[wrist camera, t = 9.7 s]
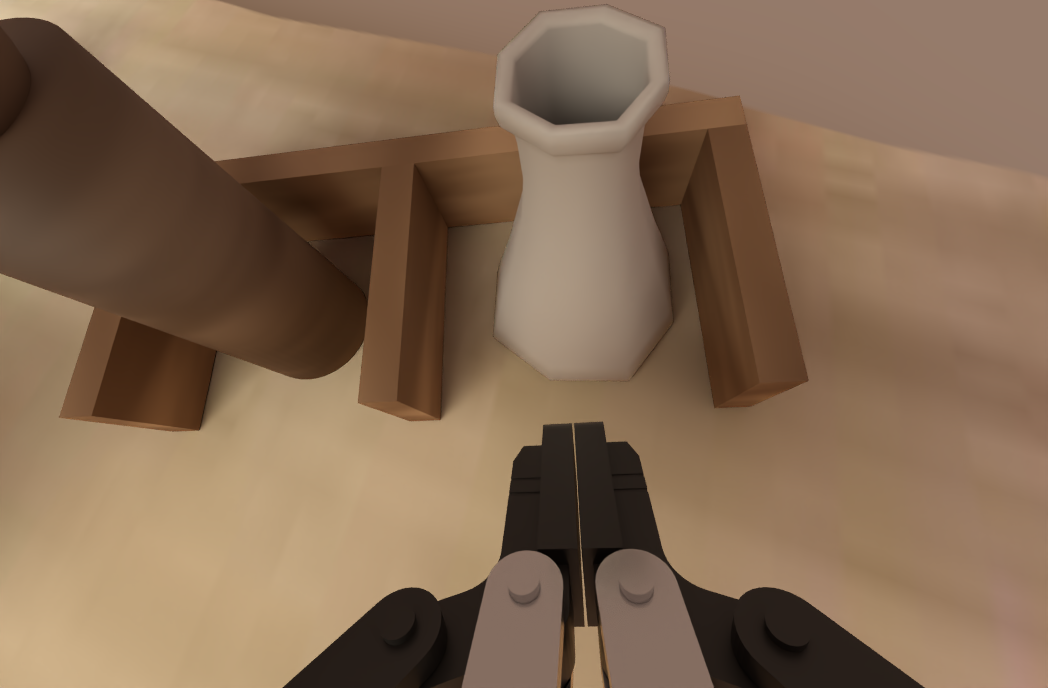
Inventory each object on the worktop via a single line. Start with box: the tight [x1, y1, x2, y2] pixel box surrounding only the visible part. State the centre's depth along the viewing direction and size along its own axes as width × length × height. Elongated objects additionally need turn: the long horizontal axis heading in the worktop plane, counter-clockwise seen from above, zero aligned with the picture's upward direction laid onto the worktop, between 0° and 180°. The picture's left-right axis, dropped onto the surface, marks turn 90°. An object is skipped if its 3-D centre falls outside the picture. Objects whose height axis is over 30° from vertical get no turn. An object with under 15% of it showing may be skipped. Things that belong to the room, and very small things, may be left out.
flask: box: [493, 4, 673, 381], centre depth 12 cm, size 7×7×10 cm
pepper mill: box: [0, 18, 368, 379], centre depth 12 cm, size 5×5×14 cm
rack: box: [59, 96, 808, 431], centre depth 16 cm, size 23×10×4 cm, turn 92°
